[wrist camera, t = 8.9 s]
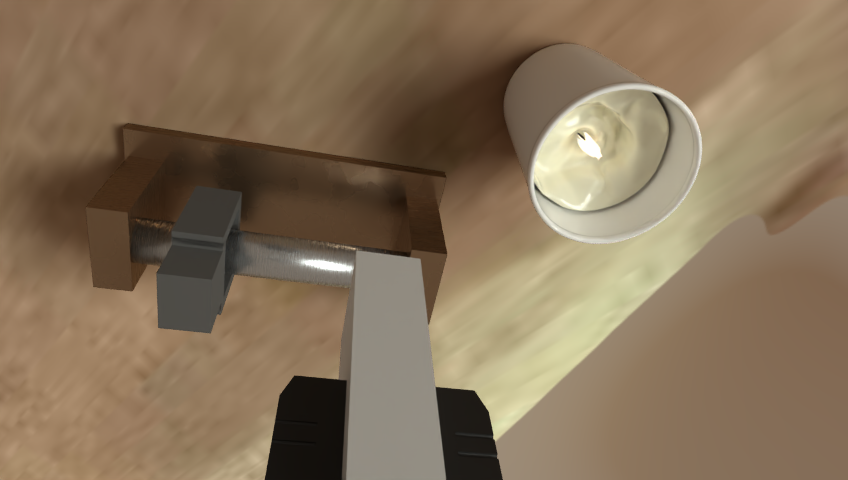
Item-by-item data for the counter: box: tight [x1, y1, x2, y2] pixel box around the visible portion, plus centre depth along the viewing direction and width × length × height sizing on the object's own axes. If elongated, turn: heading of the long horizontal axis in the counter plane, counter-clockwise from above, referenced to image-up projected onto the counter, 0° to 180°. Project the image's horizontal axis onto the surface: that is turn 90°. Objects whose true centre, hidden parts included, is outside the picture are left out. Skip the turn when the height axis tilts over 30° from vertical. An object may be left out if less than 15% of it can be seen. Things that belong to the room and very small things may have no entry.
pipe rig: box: [85, 123, 447, 324], centre depth 43 cm, size 10×23×9 cm, turn 78°
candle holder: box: [504, 43, 702, 244], centre depth 39 cm, size 10×10×12 cm
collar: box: [157, 186, 242, 333], centre depth 39 cm, size 6×3×9 cm, turn 169°
